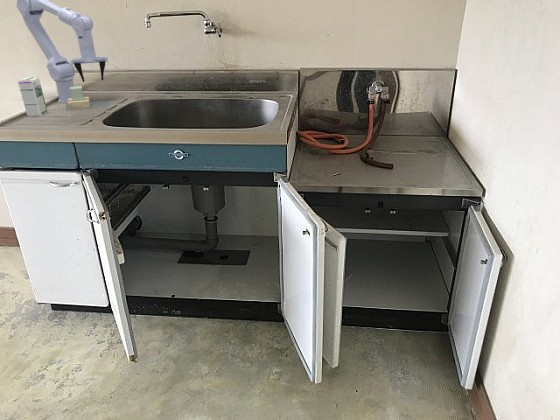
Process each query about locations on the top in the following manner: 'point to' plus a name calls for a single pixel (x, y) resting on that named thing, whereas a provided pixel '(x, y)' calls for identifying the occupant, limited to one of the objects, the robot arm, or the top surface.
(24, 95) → the syrup box
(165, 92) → the top surface
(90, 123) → the top surface
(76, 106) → the oak base
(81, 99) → the sage block
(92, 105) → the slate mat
